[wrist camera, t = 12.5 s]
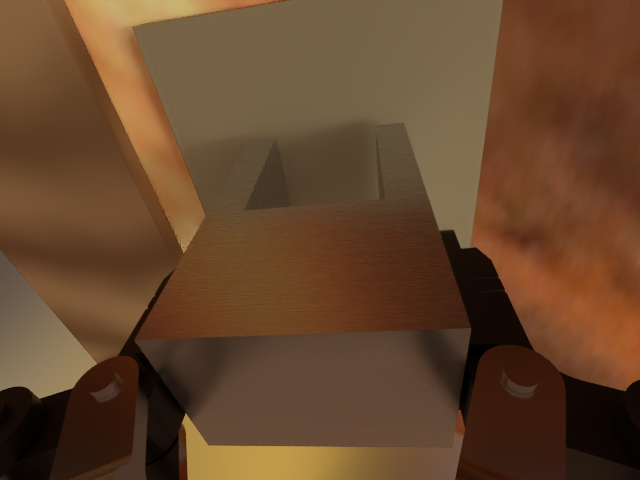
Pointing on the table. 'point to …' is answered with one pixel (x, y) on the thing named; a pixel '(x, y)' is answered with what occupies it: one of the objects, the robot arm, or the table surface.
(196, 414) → the bracket
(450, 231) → the robot arm
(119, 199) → the rail stand
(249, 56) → the tile
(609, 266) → the table surface
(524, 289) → the table surface
